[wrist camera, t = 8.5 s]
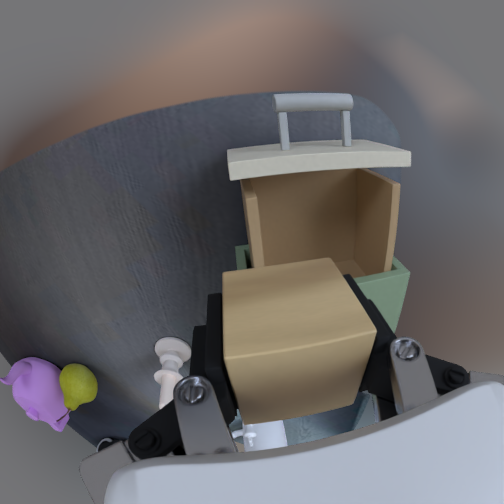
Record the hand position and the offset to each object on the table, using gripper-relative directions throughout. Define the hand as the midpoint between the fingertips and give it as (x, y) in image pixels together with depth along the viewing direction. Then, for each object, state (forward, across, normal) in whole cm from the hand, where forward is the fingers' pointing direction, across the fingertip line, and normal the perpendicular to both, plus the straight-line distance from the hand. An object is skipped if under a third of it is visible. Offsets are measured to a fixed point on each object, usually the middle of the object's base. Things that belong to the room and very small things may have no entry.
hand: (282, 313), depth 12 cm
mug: (+17, +4, +45) cm, 48 cm away
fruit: (+17, +31, +24) cm, 43 cm away
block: (+1, 0, 0) cm, 1 cm away
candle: (+17, +13, +20) cm, 29 cm away
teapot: (+17, +43, +26) cm, 53 cm away
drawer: (+16, -5, -1) cm, 17 cm away
